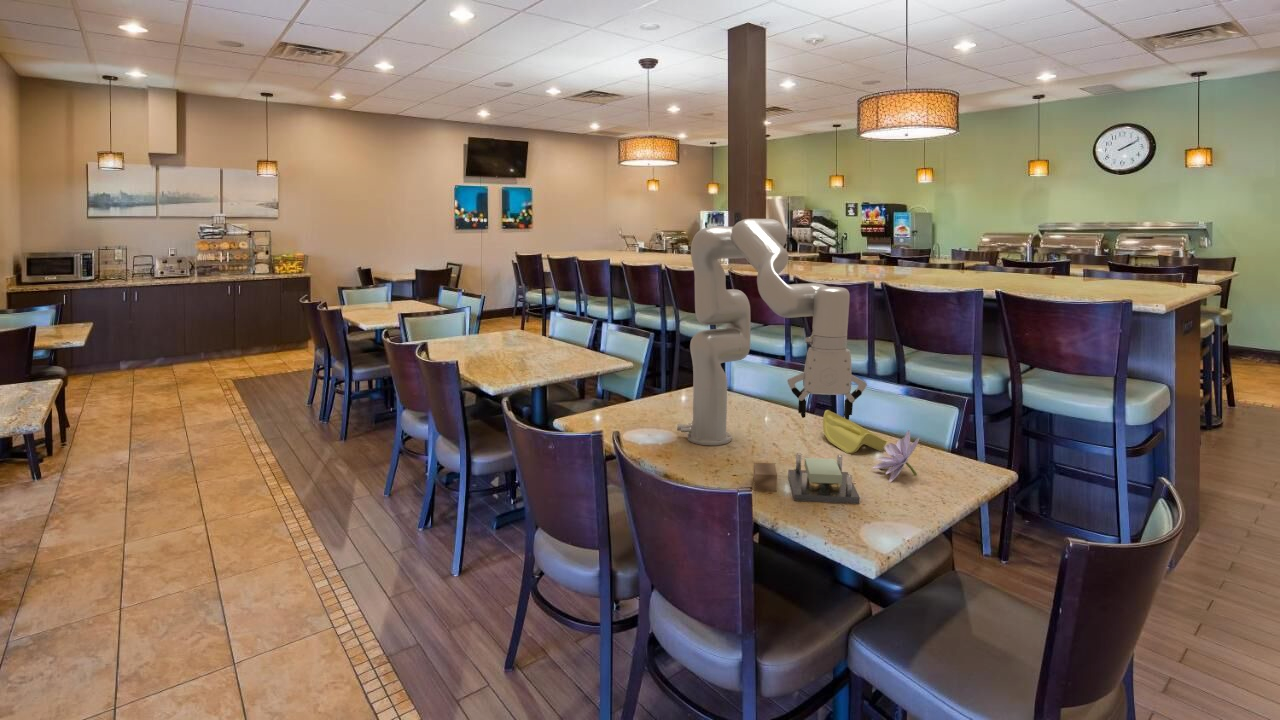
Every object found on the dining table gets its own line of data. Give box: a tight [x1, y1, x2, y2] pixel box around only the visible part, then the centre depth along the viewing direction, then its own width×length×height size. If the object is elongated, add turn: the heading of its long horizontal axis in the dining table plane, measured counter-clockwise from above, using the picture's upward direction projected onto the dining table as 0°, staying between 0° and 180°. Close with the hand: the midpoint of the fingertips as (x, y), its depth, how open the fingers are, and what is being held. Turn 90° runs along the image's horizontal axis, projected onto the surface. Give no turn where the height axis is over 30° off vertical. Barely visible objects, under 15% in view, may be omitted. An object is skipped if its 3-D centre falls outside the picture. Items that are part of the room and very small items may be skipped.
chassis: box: [787, 452, 861, 505], centre depth 158 cm, size 14×16×6 cm
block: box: [752, 462, 778, 493], centre depth 161 cm, size 5×8×4 cm, turn 173°
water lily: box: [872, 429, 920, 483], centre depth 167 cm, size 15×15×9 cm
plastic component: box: [822, 409, 888, 455], centre depth 192 cm, size 20×7×10 cm
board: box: [804, 457, 842, 484], centre depth 157 cm, size 7×11×2 cm, turn 172°
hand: (824, 417), depth 155 cm, fingers open, 9 cm apart
